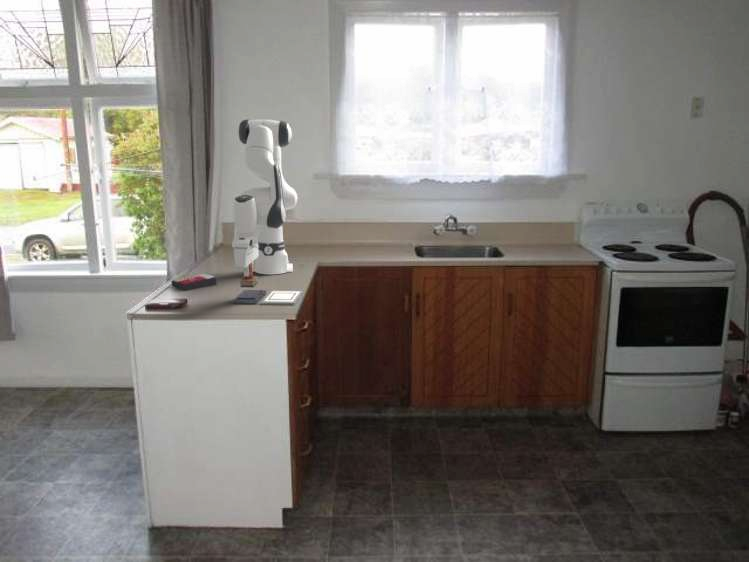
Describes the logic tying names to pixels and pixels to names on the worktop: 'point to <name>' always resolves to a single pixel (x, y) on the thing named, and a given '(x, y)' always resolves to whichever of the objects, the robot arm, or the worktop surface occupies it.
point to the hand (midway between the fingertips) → (248, 274)
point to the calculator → (194, 282)
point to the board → (281, 298)
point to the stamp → (249, 279)
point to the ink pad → (249, 297)
